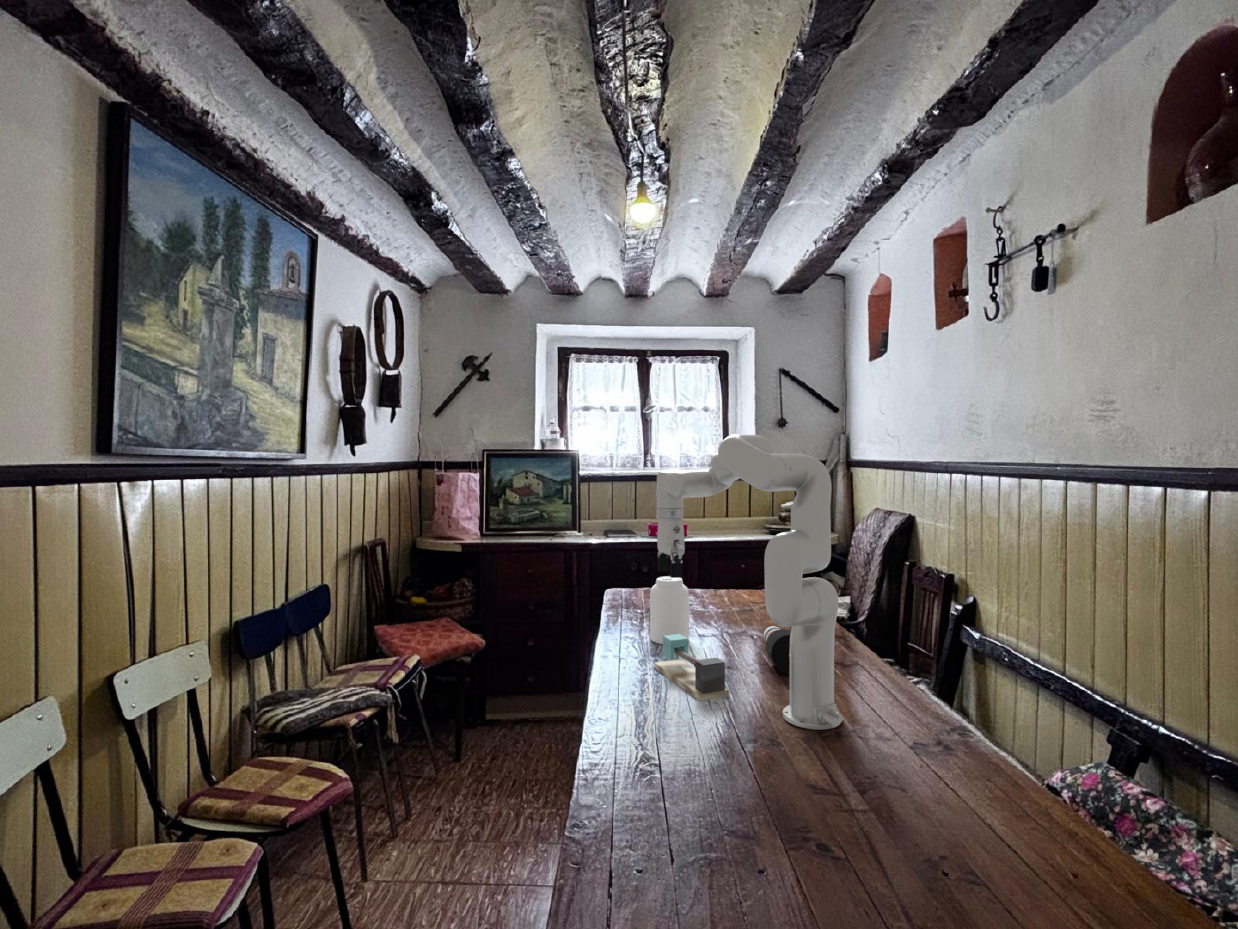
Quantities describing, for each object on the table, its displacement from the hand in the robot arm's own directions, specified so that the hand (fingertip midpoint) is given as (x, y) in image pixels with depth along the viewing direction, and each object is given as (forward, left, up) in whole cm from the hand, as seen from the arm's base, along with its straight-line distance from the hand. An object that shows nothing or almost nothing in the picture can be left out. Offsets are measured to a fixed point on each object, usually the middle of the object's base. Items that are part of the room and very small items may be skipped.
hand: (669, 574), depth 184 cm
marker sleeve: (-7, +2, -21) cm, 23 cm away
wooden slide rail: (-15, +2, -26) cm, 30 cm away
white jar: (+21, -10, -26) cm, 35 cm away
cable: (-7, -32, -26) cm, 42 cm away
